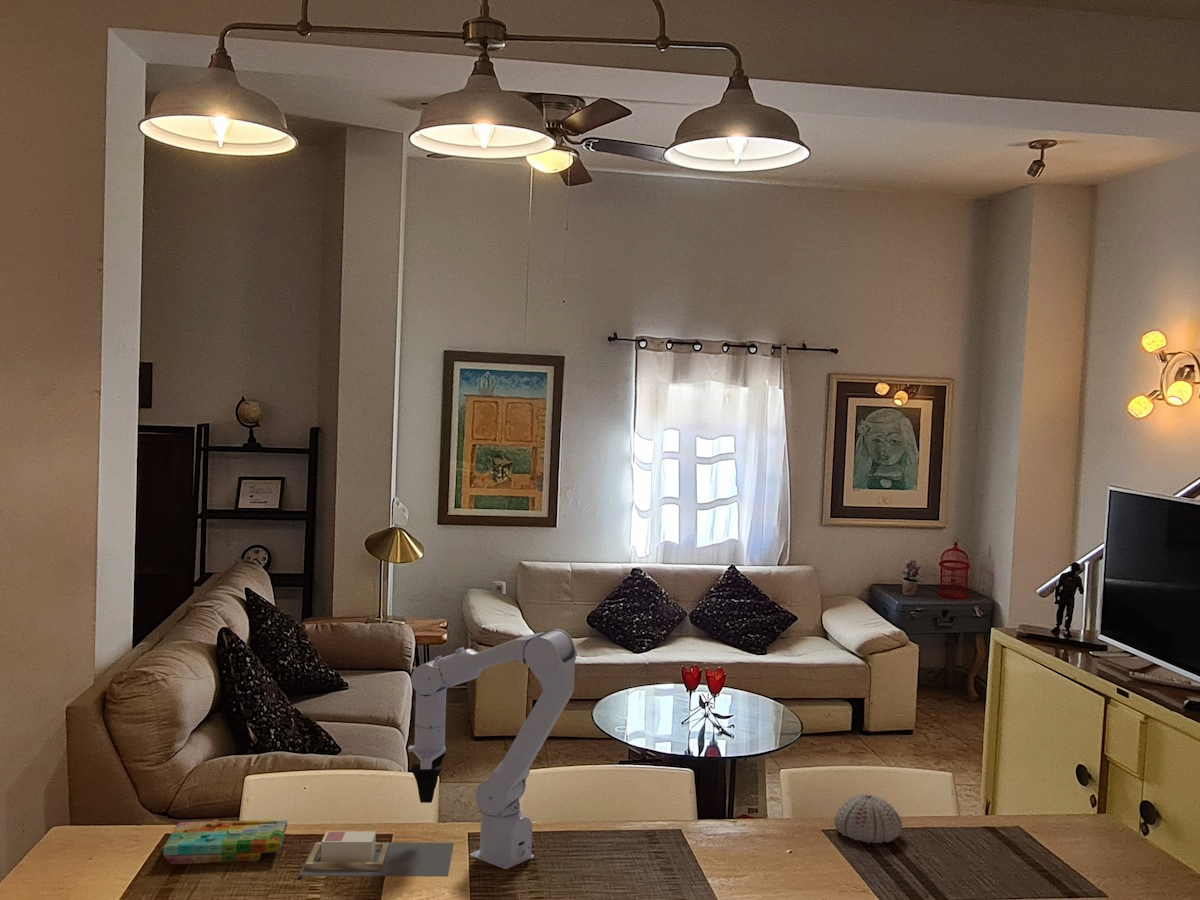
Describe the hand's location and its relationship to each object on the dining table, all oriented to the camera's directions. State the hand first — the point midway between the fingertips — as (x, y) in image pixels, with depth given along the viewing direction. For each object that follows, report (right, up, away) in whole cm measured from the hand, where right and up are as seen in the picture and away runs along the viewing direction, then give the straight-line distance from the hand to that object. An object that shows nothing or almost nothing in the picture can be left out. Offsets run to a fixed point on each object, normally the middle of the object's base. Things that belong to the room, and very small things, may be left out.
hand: (428, 795), depth 202 cm
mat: (-8, -9, -9) cm, 15 cm away
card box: (-13, -9, -9) cm, 18 cm away
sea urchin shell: (+87, -13, +12) cm, 89 cm away
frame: (-13, -9, -9) cm, 18 cm away
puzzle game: (-36, -9, -7) cm, 38 cm away
